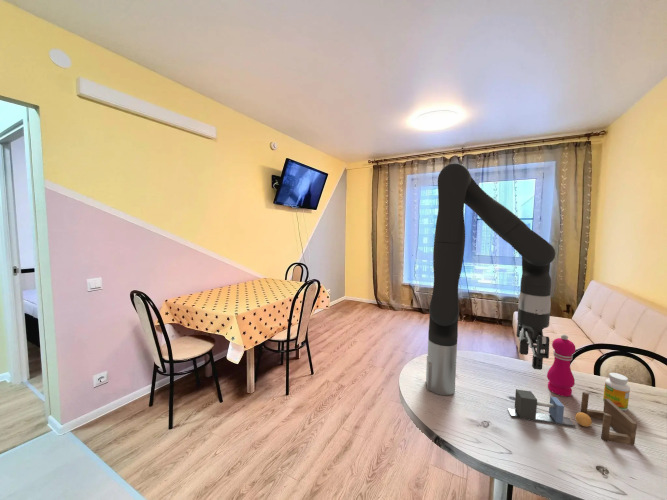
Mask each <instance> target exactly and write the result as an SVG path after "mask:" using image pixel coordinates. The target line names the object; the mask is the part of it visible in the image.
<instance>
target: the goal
mask: <svg viewBox="0 0 667 500" xmlns="http://www.w3.org/2000/svg"><path fill="white" fill-rule="evenodd" d="M581 393H582V394H581V404H580V411H579V412H583V413H585V414H587V415H588V416H589V417H590V418H591V419H597V420H602V427H601V435H600V439H601V440H603V441H604V442H611V443H618V444H625V445H631V446H635V444H636V443H635V442H636V435H637V427H638V423H637V422H636V421H634V419H632V418H631V417H630V416H629V415H628V414H626V413H625V412H624V410H621V409H620V408H618V407H617V406H616V405H615V404H614V403H613V402H612V401H611V400H609V399H605V401H603V410H598V409H591V408H588V406H589V397H590V394H589V393H588V392H584V391H582V392H581ZM611 427H612V428H613V430H615V432H614V431H611Z"/></svg>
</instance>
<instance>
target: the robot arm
mask: <svg viewBox="0 0 667 500" xmlns="http://www.w3.org/2000/svg"><path fill="white" fill-rule="evenodd" d="M437 198H438V200H437V202H438V203H437V204H438V206H437V207H438V209H437V218H436V223H435V229H434V230H435V231H434V236H433V237H434V239H433V248H432V249H433V250H432V253H433V255H432V256H433V257H432V258H433V259H432V261H433V262H432V264H433V265H432V266H433V267H432V268H433V270H432V271H433V286H432V294H431V299H430V302H429V306H428V312H429V317H428V318H429V322H428V339H427V340H428V341H427V356H426V367H425V368H426V370H425V371H426V372H425V383H426V390H427V391H430V392H432V393H434V394H436V395H441V396H451V395H453V394H454V393H455V391H456V380H457V379H456V378H457V377H456V375H457V355H458V354H457V352H458V335H459V333H458V331H459V329H458V327H459V316H460V307H459V282H460V276H461V272H462V268H463V263H464V257H465V247H466V224H465V216H464V215H465V213H464V211H465V209H464V208H465V205H466V206H467V207H469V208H470V209H471V210H472V211H473V212H474V213H475V214H476V215H477V216H478V217H479V218H480V219H481V221H483V222H484V223H485V224H486V225H487V226H488V227H489V228H490V229H491V230H492V231H493V232H494V233H495V234H496V235H497V236H498V237H500V238H501V239H502V240H503V241H504V242H506V243H507V244H509V245H510V246H511V247H512V248H513V249H514V250H515V251H516V253H518V254H519V255H520V256H521V273H522V274H521V278H520V291H519V296H518V301H517V302H518V305H517V317H516V318H517V324H516V338H518V341H519V349H518V351H519V352H518V353H519V354H520V355H522V356H523V355H525V356H526V355H527V356H528V355H529V348H530V349H531V351H532V362H531V363H532V364H531V366H532V369H534V370H538V371H539V370H540V371H542V369H543V362H544V361H543V360H544V359H549V357H550V337H549V336H544V332H543V330H544V329H546V328H549V326H550V318H551V317H550V316H551V306H552V305H551V304H552V303H551V302H552V301H551V289H552V278H551V275H550V272H551V271H550V270H551V269H550V268H551V263H553V261H554V259H555V257H556V250H555V247H554V246H553V245H552V244H551V243H550V242H548V241H547V240H546V239H544V238H543V237H542V236H540V235H539V234H538V233H537V232H535V231H534V230H532V228H530V227H529V226H528V225H527V224H526V223H525V222H524V221H523V220H522V219H521V218H520V217H518V216H517V215H516V214H515V213H513V212H512V211H511V210H510V209H508V207H505V206H504V204H502V203H500V202H499V201H497V200H496V199H495V198H493V197H491V196H490V195H489V194H488V193H486V192H485V190H483V189H482V188H481V187H480V185H478V183H477V182H476V181H475V180H474V178H473V177H472V176H471V172H470V171H469V169H468V168H467V167H466V166H465V165H463V164H461V163H458V162H452V163H449V164H447V165H445V166H444V167H442V169H441V170H440V172H439V174H438V176H437Z"/></svg>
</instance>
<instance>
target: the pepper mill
mask: <svg viewBox="0 0 667 500" xmlns="http://www.w3.org/2000/svg"><path fill="white" fill-rule="evenodd" d="M551 347H552V348H553V353H552V354H553V357H554V360H553V363H552V365H551V366H550V368H549V369H548V371H547V373H546V378H547V380H548V382H547V388H548V390H549V391H550V392H552V393H553V394H556V395H558V396H562V397H571V396H572V395H573V394H572V393H573V389H572V388H573V387H574V386H575V376H574V374H573V373H572V369H571V361H572V360H573V357H574V355H573V354H575V352H576V350H577V349H576V345H575V343H573V342H572V341H571V340H570V339H569V336H568V335H567V334H562V335H561V336H560V337H557V338H555V339H553V340H552V343H551Z"/></svg>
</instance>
